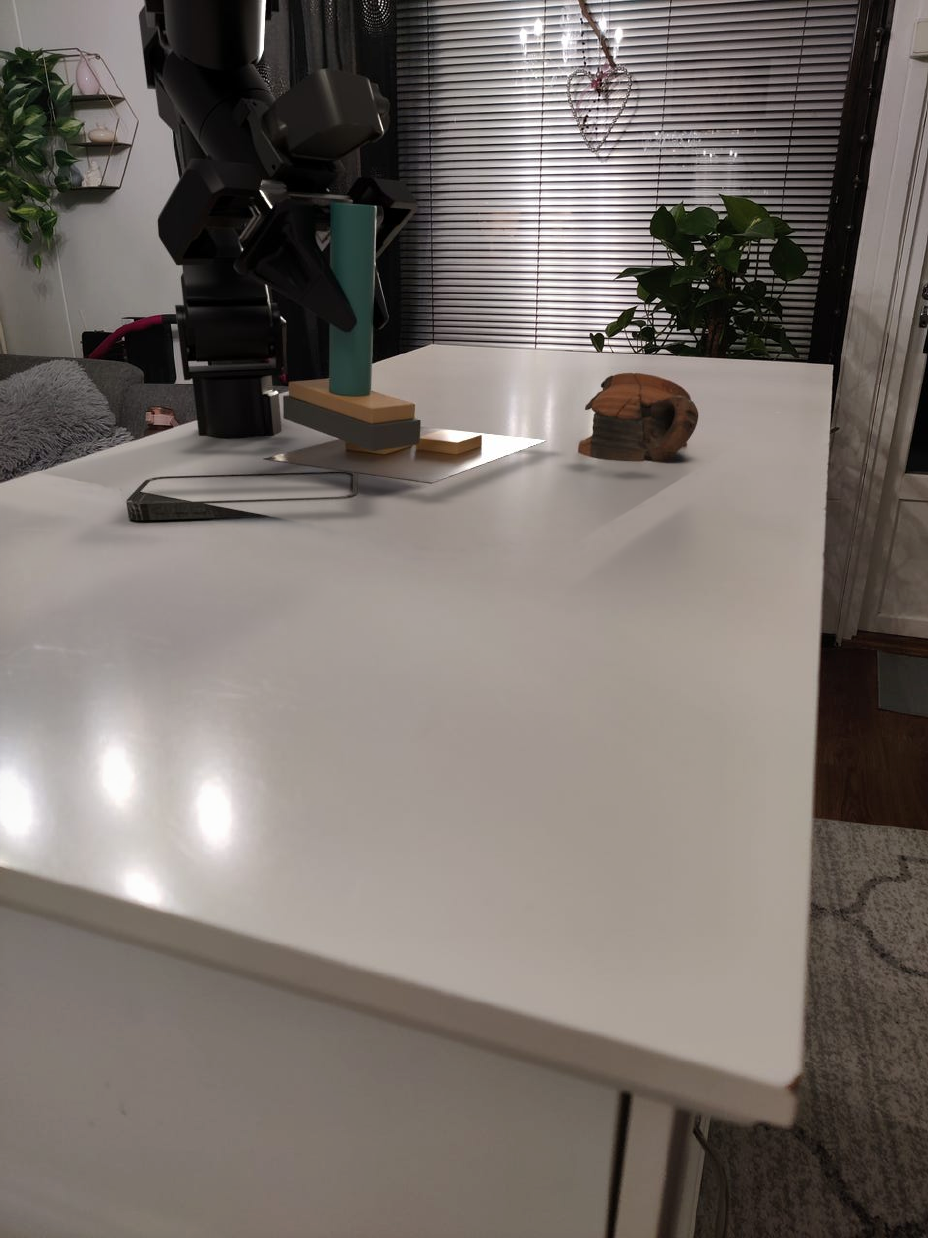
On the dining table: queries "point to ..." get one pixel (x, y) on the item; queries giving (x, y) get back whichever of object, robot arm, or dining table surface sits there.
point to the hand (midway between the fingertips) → (367, 326)
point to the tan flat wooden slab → (449, 442)
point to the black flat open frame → (202, 502)
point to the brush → (353, 352)
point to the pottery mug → (639, 419)
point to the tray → (406, 458)
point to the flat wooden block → (385, 451)
